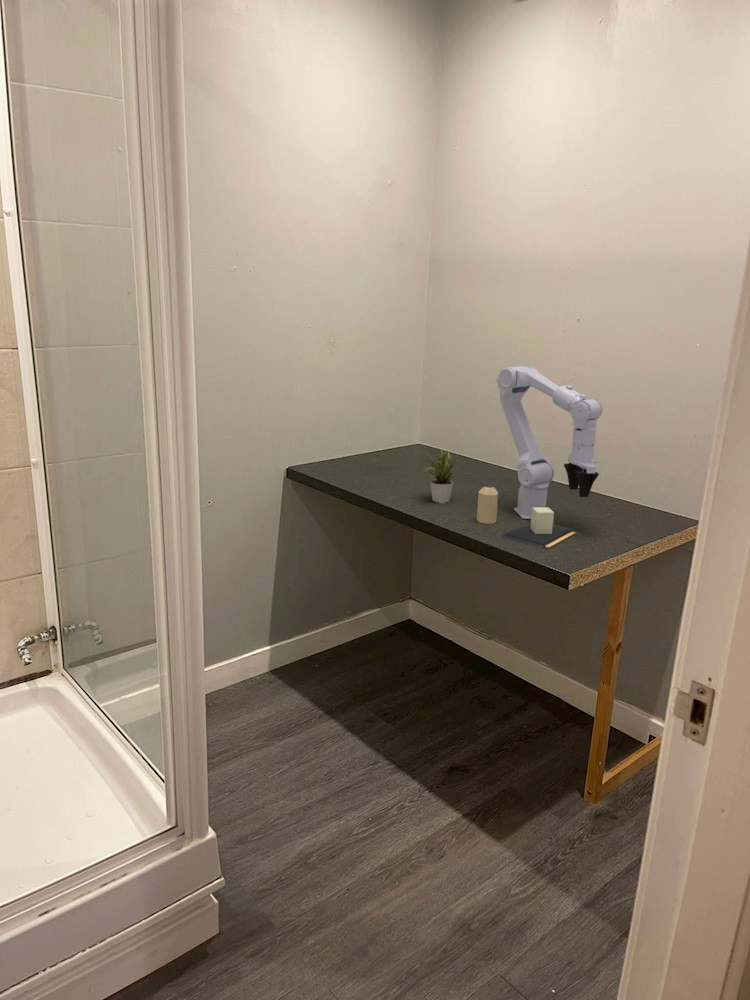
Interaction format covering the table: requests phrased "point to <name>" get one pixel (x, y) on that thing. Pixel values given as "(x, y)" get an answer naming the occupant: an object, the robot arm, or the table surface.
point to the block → (542, 520)
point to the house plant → (441, 478)
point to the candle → (487, 505)
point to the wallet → (540, 536)
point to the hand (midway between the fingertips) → (578, 492)
